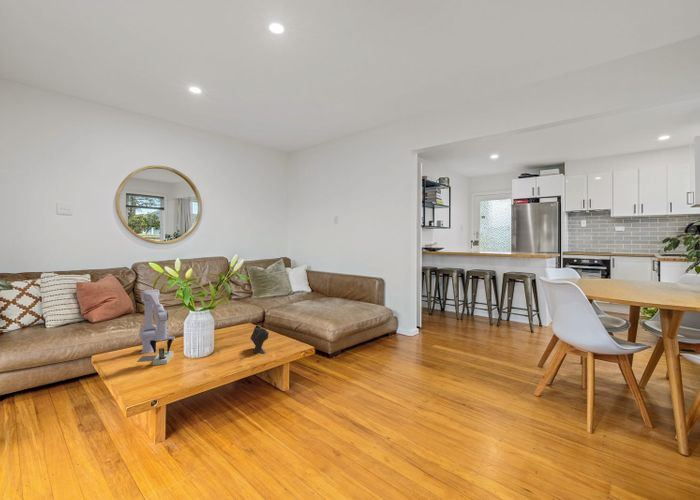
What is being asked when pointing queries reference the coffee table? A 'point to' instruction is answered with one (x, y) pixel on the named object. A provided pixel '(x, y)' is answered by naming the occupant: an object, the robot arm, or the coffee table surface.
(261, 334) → the dark grey faceted sculpture
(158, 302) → the robot arm
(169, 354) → the socket block
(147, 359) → the rubber mat
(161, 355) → the steel peg
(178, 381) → the coffee table surface
